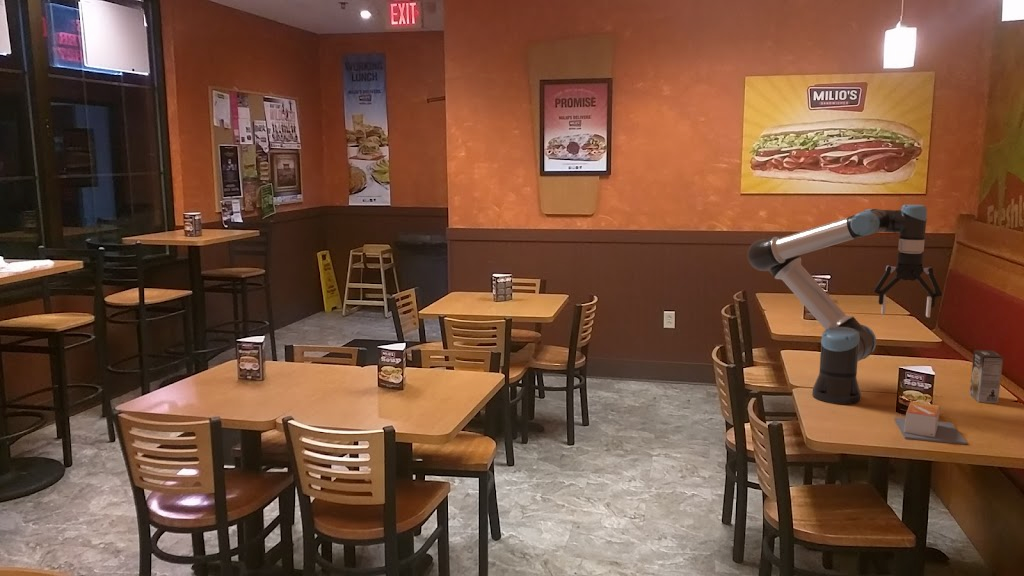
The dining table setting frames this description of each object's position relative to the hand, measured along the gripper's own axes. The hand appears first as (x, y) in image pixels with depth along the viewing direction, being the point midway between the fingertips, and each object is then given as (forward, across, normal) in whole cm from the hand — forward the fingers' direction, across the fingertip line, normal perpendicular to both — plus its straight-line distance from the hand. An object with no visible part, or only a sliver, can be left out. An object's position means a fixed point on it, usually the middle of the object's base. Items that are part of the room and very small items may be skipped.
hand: (905, 315), depth 262 cm
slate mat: (+29, -3, +33) cm, 44 cm away
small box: (+25, -3, +27) cm, 37 cm away
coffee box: (+29, -28, -8) cm, 41 cm away
